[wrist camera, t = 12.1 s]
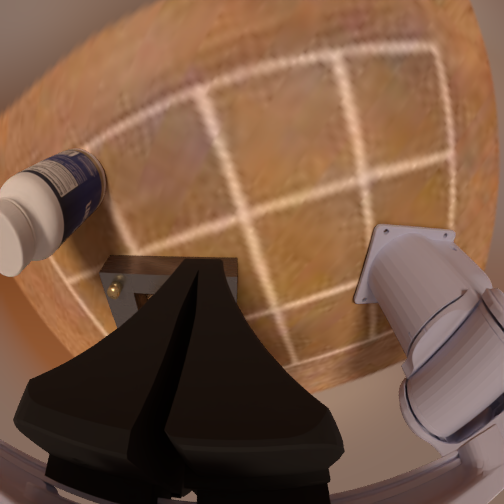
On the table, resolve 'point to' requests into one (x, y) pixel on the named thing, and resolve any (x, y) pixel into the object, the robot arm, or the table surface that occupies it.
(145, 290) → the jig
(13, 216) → the pill bottle
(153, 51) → the table surface
